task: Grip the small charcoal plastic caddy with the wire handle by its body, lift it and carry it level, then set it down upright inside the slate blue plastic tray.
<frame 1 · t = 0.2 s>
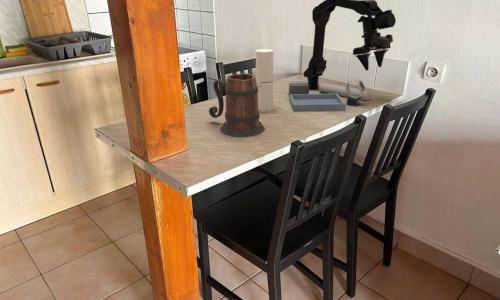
hand: (373, 68, 160), 15 cm above the table, tool pointing down, fingers open, 9 cm apart
tube: (344, 97, 177), on the table
cylindrical container: (264, 109, 161), on the table
tray: (316, 105, 165), on the table
caddy: (298, 96, 178), on the table
tankard: (235, 127, 142), on the table
watch: (353, 104, 165), on the table
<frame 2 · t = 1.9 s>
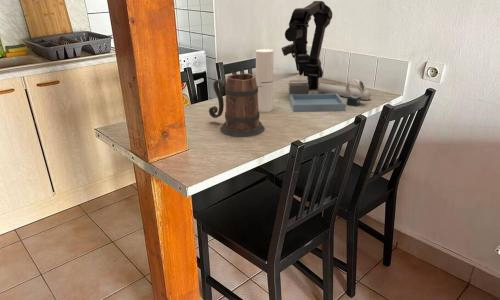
hand: (299, 72, 174), 11 cm above the table, tool pointing down, fingers open, 9 cm apart
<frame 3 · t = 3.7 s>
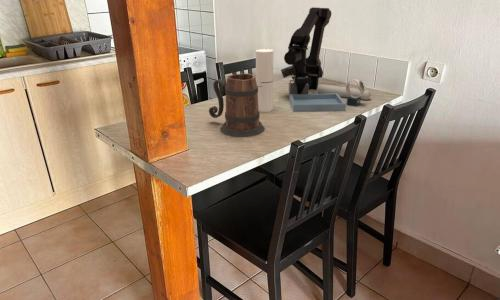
hand: (298, 93, 178), 1 cm above the table, tool pointing down, fingers closed on caddy, 5 cm apart
caddy: (298, 96, 178), on the table, touching gripper
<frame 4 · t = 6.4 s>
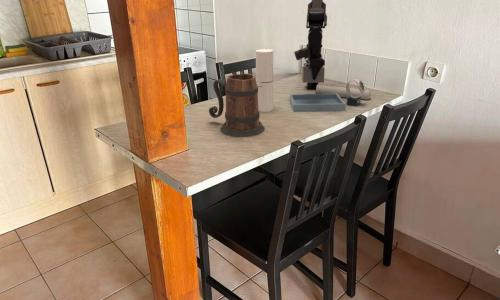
hand: (312, 78, 163), 11 cm above the table, tool pointing down, fingers closed on caddy, 5 cm apart
caddy: (312, 81, 163), point 10 cm above the table, touching gripper
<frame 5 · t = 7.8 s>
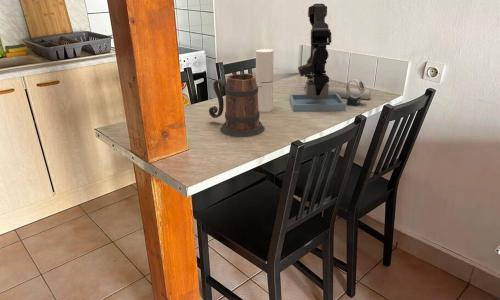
hand: (316, 93, 162), 5 cm above the table, tool pointing down, fingers closed on caddy, 5 cm apart
caddy: (316, 96, 163), point 4 cm above the table, touching gripper
when the fingers open (3 cm above the table, at t = 9.0 s): caddy drops 1 cm, resting on tray.
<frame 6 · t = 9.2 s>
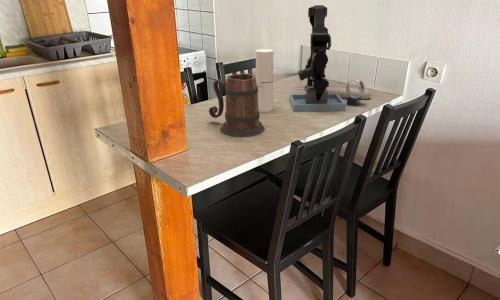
hand: (316, 97, 163), 3 cm above the table, tool pointing down, fingers open, 7 cm apart
caddy: (315, 103, 164), point 1 cm above the table, touching tray
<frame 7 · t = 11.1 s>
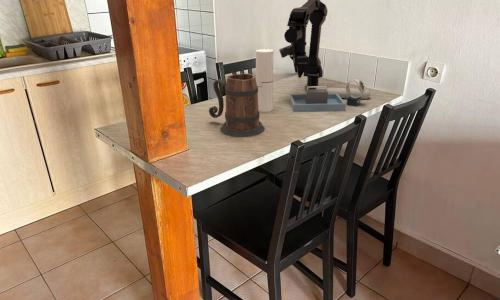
hand: (297, 75, 168), 12 cm above the table, tool pointing down, fingers open, 9 cm apart
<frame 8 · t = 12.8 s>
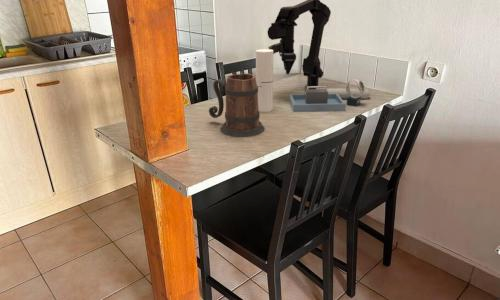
hand: (286, 72, 172), 12 cm above the table, tool pointing down, fingers open, 9 cm apart
at the end: caddy inside the target area on the tray (0.1 cm from its centre), point 0.8 cm above the tray's base; caddy tilted 0°; the gripper is holding nothing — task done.
